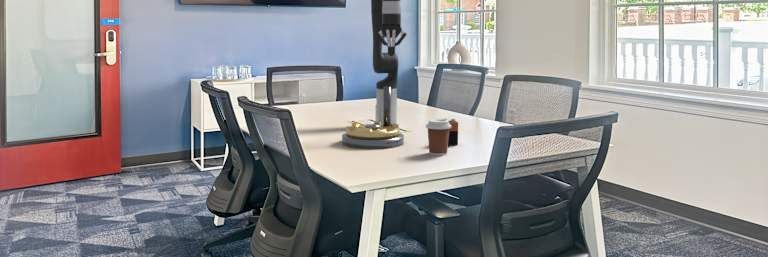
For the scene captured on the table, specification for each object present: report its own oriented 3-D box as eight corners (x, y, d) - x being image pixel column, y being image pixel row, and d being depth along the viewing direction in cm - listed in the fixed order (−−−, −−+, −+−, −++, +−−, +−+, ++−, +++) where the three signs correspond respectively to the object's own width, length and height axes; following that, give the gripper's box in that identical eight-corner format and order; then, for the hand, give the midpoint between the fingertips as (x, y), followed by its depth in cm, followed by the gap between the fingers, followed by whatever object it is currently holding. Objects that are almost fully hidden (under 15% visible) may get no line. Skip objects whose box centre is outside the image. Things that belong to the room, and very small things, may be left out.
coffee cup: (449, 151, 234) (449, 118, 232) (452, 156, 225) (453, 122, 223) (424, 151, 234) (424, 118, 232) (426, 156, 225) (427, 122, 223)
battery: (438, 143, 249) (438, 118, 247) (455, 143, 250) (455, 118, 248) (440, 145, 245) (441, 119, 243) (458, 145, 245) (458, 119, 244)
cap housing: (331, 141, 253) (331, 133, 253) (382, 135, 266) (382, 128, 266) (362, 151, 233) (362, 143, 233) (415, 144, 246) (415, 137, 246)
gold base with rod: (361, 128, 263) (361, 85, 260) (408, 132, 254) (408, 87, 251) (335, 136, 244) (335, 89, 242) (385, 141, 235) (385, 92, 233)
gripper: (408, 13, 261) (408, 55, 264) (376, 13, 263) (376, 55, 265) (407, 12, 254) (406, 56, 256) (373, 12, 255) (373, 56, 258)
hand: (391, 56), depth 261 cm, fingers closed
